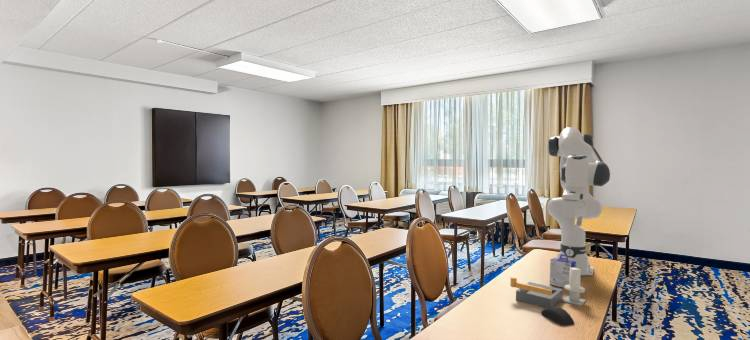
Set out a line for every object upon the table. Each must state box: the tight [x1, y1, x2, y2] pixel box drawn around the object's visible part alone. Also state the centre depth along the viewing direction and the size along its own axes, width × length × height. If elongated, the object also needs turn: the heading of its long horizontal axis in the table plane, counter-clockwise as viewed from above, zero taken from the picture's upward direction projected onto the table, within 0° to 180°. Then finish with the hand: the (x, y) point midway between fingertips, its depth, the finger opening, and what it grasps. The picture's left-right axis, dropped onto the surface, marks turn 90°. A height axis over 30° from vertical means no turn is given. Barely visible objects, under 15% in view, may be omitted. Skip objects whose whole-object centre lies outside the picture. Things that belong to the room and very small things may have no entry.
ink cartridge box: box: [549, 254, 576, 289], centre depth 178 cm, size 10×6×14 cm, turn 41°
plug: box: [563, 268, 586, 302], centre depth 159 cm, size 8×8×13 cm
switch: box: [515, 281, 564, 309], centre depth 162 cm, size 15×14×5 cm
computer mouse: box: [540, 306, 575, 327], centre depth 143 cm, size 6×11×4 cm, turn 18°
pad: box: [562, 295, 586, 307], centre depth 160 cm, size 7×7×1 cm
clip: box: [510, 276, 552, 296], centre depth 157 cm, size 2×16×4 cm, turn 48°
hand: (575, 227), depth 158 cm, fingers open, 8 cm apart
